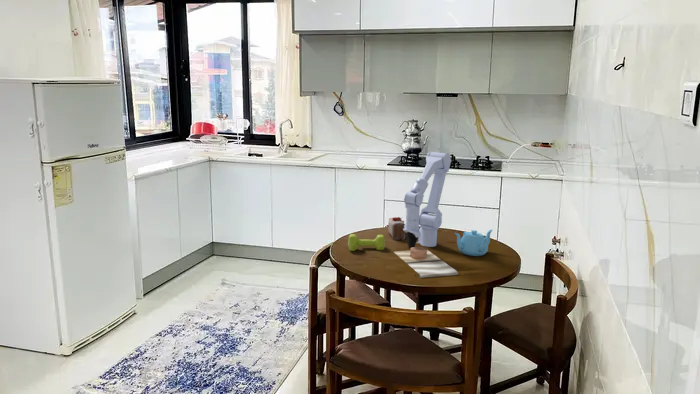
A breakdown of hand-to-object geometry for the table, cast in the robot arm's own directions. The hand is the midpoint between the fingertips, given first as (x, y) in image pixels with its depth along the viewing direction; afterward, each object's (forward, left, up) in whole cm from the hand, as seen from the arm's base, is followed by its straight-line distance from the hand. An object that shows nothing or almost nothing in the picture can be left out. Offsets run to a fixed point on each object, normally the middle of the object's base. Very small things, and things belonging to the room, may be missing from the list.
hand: (411, 248), depth 230 cm
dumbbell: (-9, -18, -3) cm, 20 cm away
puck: (+8, 0, -1) cm, 8 cm away
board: (+14, 0, -2) cm, 14 cm away
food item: (-28, +4, -3) cm, 29 cm away
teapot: (+6, +28, -2) cm, 29 cm away
